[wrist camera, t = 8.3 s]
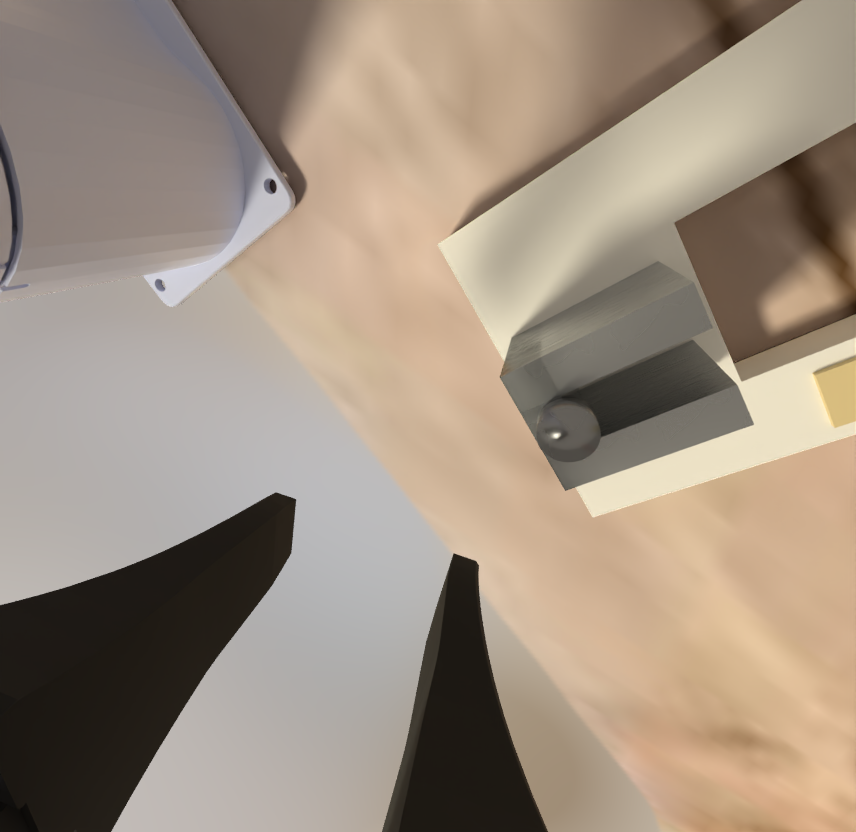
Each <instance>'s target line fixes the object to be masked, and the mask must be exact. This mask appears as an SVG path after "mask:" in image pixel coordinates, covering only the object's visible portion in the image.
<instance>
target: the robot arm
mask: <svg viewBox="0 0 856 832" xmlns="http://www.w3.org/2000/svg"><path fill="white" fill-rule="evenodd" d="M272 179H273V180H274V181H275V182H276V185H277V190H276V192H275V193H273V192H272V191H271V189H270V182H271V180H272ZM295 203H296V201H295V195H294V193H293V191H292V189H291V187H290V186H289V184H288V183H287V181H286V180H285V178H284V176H283V175H282V173H281V172H280V170H279V169H278V167H277V165H276V164H275V162H274V161H273V159H272V158H271V156H270V154H269V153H268V151H267V150H266V148H265V147H264V145H263V143H262V142H261V140H260V139H259V137H258V135H257V134H256V132H255V131H254V129H253V128H252V126H251V124H250V123H249V121H248V120H247V118H246V117H245V115H244V113H243V112H242V110H241V109H240V107H239V106H238V104H237V102H236V101H235V99H234V98H233V96H232V95H231V93H230V91H229V90H228V88H227V87H226V85H225V84H224V82H223V80H222V79H221V77H220V76H219V74H218V73H217V71H216V69H215V68H214V66H213V65H212V63H211V62H210V60H209V58H208V57H207V55H206V54H205V52H204V51H203V49H202V47H201V46H200V44H199V43H198V41H197V40H196V38H195V36H194V35H193V33H192V32H191V30H190V28H189V27H188V25H187V24H186V22H185V21H184V19H183V17H182V16H181V14H180V13H179V11H178V10H177V8H176V6H175V5H174V3H173V2H172V0H0V302H5V301H11V300H16V299H22V298H27V297H32V296H38V295H43V294H48V293H53V292H59V291H63V290H69V289H74V288H79V287H85V286H90V285H96V284H101V283H105V282H111V281H117V280H121V279H127V278H132V277H138V276H143V277H144V278H145V279H146V281H147V282H148V283H149V284H150V286H151V287H152V288H153V290H154V291H155V292H156V294H157V295H158V296H159V298H160V299H161V300H162V301H163V302H164V303H165V304H166V305H168V306H170V307H175V306H178V305H180V304H182V303H183V302H184V301H185V300H187V299H188V298H189V297H190V296H191V295H193V294H194V293H195V292H196V291H197V290H198V289H200V288H201V287H202V286H203V285H204V284H206V283H207V282H208V281H209V280H210V279H212V278H213V277H214V276H215V275H216V274H217V273H219V272H220V271H221V270H222V269H224V268H225V267H226V266H227V265H228V264H229V263H231V262H232V261H233V260H234V259H235V258H237V257H238V256H239V255H240V254H241V253H243V252H244V251H245V250H246V249H247V248H248V247H250V246H251V245H252V244H253V243H254V242H256V241H257V240H258V239H259V238H260V237H261V236H263V235H264V234H265V233H266V232H267V231H269V230H270V229H271V228H272V227H273V226H275V225H276V224H277V223H278V222H279V221H280V220H282V219H283V218H284V217H285V216H286V215H288V214H289V213H290V212H291V211H292V210H293V208H294V207H295ZM162 281H163V282H164V283H165V286H166V289H165V288H164V287H163V285H162ZM295 506H296V499H294V498H291V497H288V496H285V495H282V494H279V493H274V494H272V495H270V496H268V497H266V498H265V499H263V500H261V501H259V502H257V503H256V504H254V505H252V506H251V507H249V508H247V509H245V510H243V511H241V512H240V513H238V514H236V515H235V516H233V517H231V518H229V519H227V520H225V521H223V522H221V523H220V524H217V525H216V526H214V527H212V528H210V529H208V530H206V531H205V532H203V533H200V534H199V535H197V536H194V537H193V538H190V539H188V540H186V541H184V542H182V543H180V544H178V545H176V546H174V547H171V548H169V549H167V550H165V551H163V552H161V553H158V554H156V555H154V556H152V557H149V558H147V559H144V560H142V561H140V562H137V563H134V564H132V565H129V566H127V567H125V568H122V569H119V570H116V571H114V572H111V573H108V574H105V575H102V576H99V577H96V578H93V579H90V580H87V581H84V582H81V583H78V584H75V585H72V586H69V587H66V588H63V589H59V590H56V591H52V592H49V593H45V594H42V595H38V596H34V597H31V598H27V599H23V600H19V601H15V602H12V603H8V604H4V605H0V832H111V831H112V829H113V827H114V825H115V824H116V822H117V820H118V818H119V817H120V815H121V813H122V811H123V809H124V808H125V806H126V804H127V802H128V800H129V799H130V797H131V795H132V793H133V792H134V790H135V788H136V787H137V785H138V783H139V781H140V780H141V778H142V776H143V775H144V773H145V771H146V769H147V768H148V766H149V764H150V763H151V761H152V759H153V757H154V756H155V754H156V752H157V750H158V749H159V747H160V745H161V744H162V742H163V741H164V739H165V738H166V736H167V734H168V733H169V731H170V729H171V727H172V726H173V724H174V723H175V721H176V720H177V718H178V716H179V715H180V713H181V711H182V710H183V708H184V707H185V705H186V703H187V702H188V700H189V699H190V697H191V696H192V694H193V692H194V691H195V689H196V688H197V686H198V684H199V683H200V681H201V680H202V678H203V677H204V675H205V673H206V672H207V671H208V669H209V668H210V666H211V665H212V664H213V662H214V661H215V659H216V658H217V657H218V655H219V654H220V653H221V651H222V650H223V649H224V647H225V646H226V645H227V644H228V642H229V641H230V640H231V638H232V637H233V636H234V634H235V633H236V632H237V631H238V629H239V628H240V627H241V625H242V624H243V623H244V621H245V620H246V619H247V618H248V616H249V615H250V614H251V612H252V611H253V610H254V608H255V607H256V606H257V605H258V603H259V602H260V601H261V599H262V598H263V596H264V595H265V594H266V593H267V591H268V590H269V589H270V587H271V586H272V585H273V583H274V581H275V580H276V578H277V576H278V575H279V573H280V571H281V570H282V568H283V566H284V564H285V563H286V561H287V559H288V558H289V556H290V554H291V550H292V538H293V528H294V527H293V526H294V516H295ZM478 571H479V565H478V564H477V562H476V561H474V560H471V559H468V558H465V557H463V556H460V555H457V554H453V557H452V560H451V563H450V567H449V570H448V573H447V576H446V579H445V582H444V585H443V588H442V591H441V595H440V597H439V601H438V604H437V607H436V610H435V614H434V617H433V621H432V624H431V628H430V631H429V634H428V638H427V641H426V646H425V651H424V656H423V661H422V666H421V671H420V677H419V682H418V687H417V692H416V697H415V703H414V708H413V713H412V719H411V724H410V728H409V733H408V738H407V742H406V746H405V751H404V754H403V758H402V762H401V765H400V769H399V773H398V776H397V780H396V784H395V787H394V791H393V795H392V798H391V802H390V805H389V809H388V813H387V816H386V820H385V823H384V827H383V831H382V832H548V831H547V829H546V826H545V824H544V821H543V819H542V817H541V814H540V812H539V809H538V807H537V805H536V802H535V800H534V798H533V796H532V793H531V790H530V788H529V785H528V782H527V779H526V777H525V774H524V771H523V769H522V766H521V763H520V761H519V758H518V756H517V753H516V750H515V748H514V745H513V742H512V739H511V736H510V733H509V729H508V727H507V724H506V720H505V717H504V714H503V710H502V707H501V704H500V700H499V696H498V693H497V689H496V685H495V682H494V677H493V673H492V669H491V664H490V660H489V655H488V650H487V645H486V640H485V634H484V627H483V621H482V615H481V607H480V597H479V581H478Z"/></svg>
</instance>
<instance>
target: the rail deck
mask: <svg viewBox="0 0 856 832" xmlns="http://www.w3.org/2000/svg"><path fill="white" fill-rule="evenodd" d="M854 123H856V0H801V1H800V2H798V3H797V4H795V5H794V6H792V7H791V8H789V9H788V10H786V11H785V12H783V13H782V14H780V15H779V16H777V17H776V18H774V19H773V20H771V21H770V22H768V23H767V24H765V25H764V26H762V27H761V28H759V29H758V30H757V31H755V32H754V33H752V34H751V35H749V36H748V37H746V38H745V39H743V40H742V41H740V42H739V43H737V44H736V45H734V46H733V47H731V48H730V49H728V50H727V51H725V52H724V53H722V54H721V55H719V56H718V57H716V58H715V59H713V60H712V61H710V62H709V63H707V64H706V65H704V66H703V67H701V68H700V69H698V70H697V71H695V72H694V73H692V74H691V75H689V76H688V77H686V78H685V79H683V80H682V81H680V82H679V83H677V84H676V85H674V86H673V87H672V88H670V89H669V90H667V91H666V92H664V93H663V94H661V95H660V96H658V97H657V98H655V99H654V100H652V101H651V102H649V103H648V104H646V105H645V106H643V107H642V108H640V109H639V110H637V111H636V112H634V113H633V114H631V115H630V116H628V117H627V118H625V119H624V120H622V121H621V122H619V123H618V124H616V125H615V126H613V127H612V128H610V129H609V130H607V131H606V132H604V133H603V134H601V135H600V136H598V137H597V138H595V139H594V140H592V141H591V142H589V143H588V144H587V145H585V146H584V147H582V148H581V149H579V150H578V151H576V152H575V153H573V154H572V155H570V156H569V157H567V158H566V159H564V160H563V161H561V162H560V163H558V164H557V165H555V166H554V167H552V168H551V169H549V170H548V171H546V172H545V173H543V174H542V175H540V176H539V177H537V178H536V179H534V180H533V181H531V182H530V183H528V184H527V185H525V186H524V187H522V188H521V189H519V190H518V191H516V192H515V193H513V194H512V195H510V196H509V197H507V198H506V199H505V200H503V201H502V202H500V203H499V204H497V205H496V206H494V207H493V208H491V209H490V210H488V211H487V212H485V213H484V214H482V215H481V216H479V217H478V218H476V219H475V220H473V221H472V222H470V223H469V224H467V225H466V226H464V227H463V228H461V229H460V230H458V231H457V232H455V233H454V234H452V235H451V236H449V237H448V238H446V239H445V240H443V241H442V242H440V243H439V244H437V245H438V246H439V248H440V250H441V252H442V253H443V255H444V257H445V259H446V260H447V262H448V264H449V266H450V267H451V269H452V271H453V273H454V274H455V276H456V278H457V280H458V281H459V283H460V285H461V287H462V289H463V290H464V292H465V294H466V296H467V297H468V299H469V301H470V303H471V304H472V306H473V308H474V310H475V311H476V313H477V315H478V317H479V318H480V320H481V322H482V324H483V325H484V327H485V329H486V331H487V332H488V334H489V336H490V338H491V339H492V341H493V343H494V345H495V346H496V348H497V350H498V352H499V354H500V355H501V357H502V359H503V361H504V362H505V358H506V355H507V351H508V348H509V345H510V341H511V338H512V337H514V336H516V335H518V334H520V333H522V332H524V331H526V330H528V329H529V328H531V327H533V326H535V325H537V324H539V323H541V322H543V321H545V320H547V319H549V318H550V317H552V316H554V315H556V314H558V313H560V312H562V311H564V310H566V309H568V308H569V307H571V306H573V305H575V304H577V303H579V302H581V301H583V300H585V299H587V298H589V297H590V296H592V295H594V294H596V293H598V292H600V291H602V290H604V289H606V288H608V287H610V286H611V285H613V284H615V283H617V282H619V281H621V280H623V279H625V278H627V277H629V276H630V275H632V274H634V273H636V272H638V271H640V270H642V269H644V268H646V267H648V266H650V265H651V264H653V263H655V262H657V261H659V262H661V263H662V264H664V265H666V266H667V267H669V268H671V269H673V270H674V271H676V272H678V273H679V274H681V275H683V276H684V277H686V278H688V279H689V280H691V281H693V282H694V284H695V286H696V289H697V291H698V293H699V296H700V298H701V300H702V303H703V305H704V307H705V310H706V312H707V314H708V317H709V319H710V321H711V324H712V326H713V328H711V329H709V330H707V331H705V332H702V333H700V334H698V335H696V336H693V337H691V338H689V339H687V340H684V341H682V342H680V343H678V344H675V345H673V346H671V347H669V348H666V349H664V350H662V351H660V352H657V353H655V354H653V355H651V356H648V357H646V358H644V359H642V360H639V361H637V362H635V363H633V364H630V365H628V366H626V367H624V368H621V369H619V370H617V371H615V372H612V373H610V374H608V375H606V376H603V377H601V378H599V379H597V380H594V381H592V382H590V383H588V384H585V385H583V386H581V387H579V390H580V389H582V388H585V387H587V386H589V385H592V384H594V383H596V382H598V381H601V380H603V379H605V378H607V377H610V376H612V375H614V374H616V373H619V372H621V371H623V370H626V369H628V368H630V367H632V366H635V365H637V364H639V363H641V362H644V361H646V360H648V359H650V358H653V357H655V356H657V355H659V354H662V353H664V352H666V351H669V350H671V349H673V348H675V347H678V346H680V345H682V344H684V343H687V342H689V341H691V340H694V341H695V342H696V343H697V344H698V345H699V346H700V347H701V348H702V349H703V350H704V351H705V352H706V353H707V354H708V355H709V356H710V357H711V358H712V359H713V360H714V361H715V363H716V364H717V365H718V366H719V367H720V368H721V369H722V370H723V371H724V372H725V373H726V374H727V375H728V376H729V377H730V378H731V379H732V380H733V381H734V382H735V383H736V384H737V385H738V387H739V390H740V392H741V394H742V397H743V399H744V401H745V404H746V406H747V408H748V411H749V413H750V416H751V418H752V420H753V423H754V425H752V426H749V427H746V428H743V429H740V430H738V431H735V432H732V433H729V434H726V435H723V436H720V437H718V438H715V439H712V440H709V441H706V442H703V443H700V444H698V445H695V446H692V447H689V448H686V449H683V450H680V451H678V452H675V453H672V454H669V455H666V456H663V457H660V458H658V459H655V460H652V461H649V462H646V463H643V464H640V465H638V466H635V467H632V468H629V469H626V470H623V471H620V472H618V473H615V474H612V475H609V476H606V477H603V478H600V479H598V480H595V481H592V482H589V483H586V484H583V485H580V486H578V487H576V489H577V490H578V492H579V494H580V496H581V498H582V499H583V501H584V503H585V505H586V506H587V508H588V510H589V512H590V513H591V515H592V517H596V516H599V515H602V514H605V513H609V512H612V511H615V510H618V509H621V508H624V507H628V506H631V505H634V504H637V503H640V502H643V501H647V500H650V499H653V498H656V497H659V496H662V495H666V494H669V493H672V492H675V491H678V490H681V489H685V488H688V487H691V486H694V485H697V484H700V483H703V482H707V481H710V480H713V479H716V478H719V477H722V476H726V475H729V474H732V473H735V472H738V471H741V470H745V469H748V468H751V467H754V466H757V465H760V464H764V463H767V462H770V461H773V460H776V459H779V458H783V457H786V456H789V455H792V454H795V453H798V452H802V451H805V450H808V449H811V448H814V447H817V446H821V445H824V444H827V443H830V442H833V441H836V440H840V439H843V438H846V437H849V436H852V435H855V434H856V314H855V315H852V316H850V317H847V318H845V319H842V320H840V321H837V322H835V323H832V324H830V325H828V326H825V327H823V328H820V329H818V330H815V331H813V332H810V333H808V334H805V335H803V336H800V337H798V338H796V339H793V340H791V341H788V342H786V343H783V344H781V345H778V346H776V347H773V348H771V349H769V350H766V351H764V352H761V353H759V354H756V355H754V356H751V357H749V358H746V359H744V360H742V361H739V362H737V363H733V361H732V359H731V356H730V354H729V351H728V349H727V347H726V344H725V342H724V340H723V337H722V335H721V332H720V330H719V328H718V325H717V323H716V321H715V318H714V316H713V314H712V311H711V309H710V306H709V304H708V302H707V299H706V297H705V295H704V292H703V290H702V288H701V285H700V283H699V280H698V278H697V276H696V273H695V271H694V269H693V266H692V264H691V261H690V259H689V257H688V254H687V252H686V250H685V247H684V245H683V243H682V240H681V238H680V235H679V233H678V231H677V228H676V226H675V224H674V222H676V221H678V220H680V219H682V218H684V217H685V216H687V215H689V214H691V213H693V212H694V211H696V210H698V209H700V208H702V207H704V206H705V205H707V204H709V203H711V202H713V201H714V200H716V199H718V198H720V197H722V196H723V195H725V194H727V193H729V192H731V191H733V190H734V189H736V188H738V187H740V186H742V185H743V184H745V183H747V182H749V181H751V180H752V179H754V178H756V177H758V176H760V175H762V174H763V173H765V172H767V171H769V170H771V169H772V168H774V167H776V166H778V165H780V164H782V163H783V162H785V161H787V160H789V159H791V158H792V157H794V156H796V155H798V154H800V153H801V152H803V151H805V150H807V149H809V148H811V147H812V146H814V145H816V144H818V143H820V142H821V141H823V140H825V139H827V138H829V137H831V136H832V135H834V134H836V133H838V132H840V131H841V130H843V129H845V128H847V127H849V126H850V125H852V124H854Z"/></svg>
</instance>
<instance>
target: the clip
mask: <svg viewBox="0 0 856 832" xmlns="http://www.w3.org/2000/svg"><path fill="white" fill-rule="evenodd" d="M711 328H713V326H712V324H711V321H710V319H709V317H708V314H707V312H706V310H705V307H704V305H703V303H702V300H701V298H700V296H699V293H698V291H697V289H696V286H695V284H694V282H693V281H691V280H689V279H688V278H686V277H684V276H683V275H681V274H679V273H678V272H676V271H674V270H673V269H671V268H669V267H667V266H666V265H664V264H662V263H661V262H659V261H657V262H655V263H653V264H651V265H650V266H648V267H646V268H644V269H642V270H640V271H638V272H636V273H634V274H632V275H630V276H629V277H627V278H625V279H623V280H621V281H619V282H617V283H615V284H613V285H611V286H610V287H608V288H606V289H604V290H602V291H600V292H598V293H596V294H594V295H592V296H590V297H589V298H587V299H585V300H583V301H581V302H579V303H577V304H575V305H573V306H571V307H569V308H568V309H566V310H564V311H562V312H560V313H558V314H556V315H554V316H552V317H550V318H549V319H547V320H545V321H543V322H541V323H539V324H537V325H535V326H533V327H531V328H529V329H528V330H526V331H524V332H522V333H520V334H518V335H516V336H514V337H512V338H511V341H510V345H509V348H508V351H507V355H506V358H505V362H504V365H503V368H502V372H501V375H500V378H501V380H502V382H503V384H504V385H505V387H506V389H507V390H508V392H509V394H510V396H511V397H512V399H513V401H514V403H515V404H516V406H517V408H518V410H519V411H520V413H521V415H522V416H523V418H524V420H525V422H526V423H527V425H528V427H529V429H530V430H531V432H532V434H533V436H534V437H535V439H536V441H537V442H538V445H539V447H540V448H541V450H542V451H543V453H544V455H545V456H546V458H547V460H548V461H549V463H550V465H551V467H552V468H553V470H554V472H555V474H556V475H557V477H558V479H559V481H560V482H561V484H562V486H563V487H564V489H565V491H566V490H569V489H572V488H575V487H578V486H580V485H583V484H586V483H589V482H592V481H595V480H598V479H600V478H603V477H606V476H609V475H612V474H615V473H618V472H620V471H623V470H626V469H629V468H632V467H635V466H638V465H640V464H643V463H646V462H649V461H652V460H655V459H658V458H660V457H663V456H666V455H669V454H672V453H675V452H678V451H680V450H683V449H686V448H689V447H692V446H695V445H698V444H700V443H703V442H706V441H709V440H712V439H715V438H718V437H720V436H723V435H726V434H729V433H732V432H735V431H738V430H740V429H743V428H746V427H749V426H752V425H754V423H753V420H752V418H751V416H750V413H749V411H748V408H747V406H746V404H745V401H744V399H743V397H742V394H741V392H740V390H739V387H738V385H737V384H736V383H735V382H734V381H733V380H732V379H731V378H730V377H729V376H728V375H727V374H726V373H725V372H724V371H723V370H722V369H721V368H720V367H719V366H718V365H717V364H716V363H715V361H714V360H713V359H712V358H711V357H710V356H709V355H708V354H707V353H706V352H705V351H704V350H703V349H702V348H701V347H700V346H699V345H698V344H697V343H696V342H695V341H694V340H691V341H689V342H687V343H684V344H682V345H680V346H678V347H675V348H673V349H671V350H669V351H666V352H664V353H662V354H659V355H657V356H655V357H653V358H650V359H648V360H646V361H644V362H641V363H639V364H637V365H635V366H632V367H630V368H628V369H626V370H623V371H621V372H619V373H616V374H614V375H612V376H610V377H607V378H605V379H603V380H601V381H598V382H596V383H594V384H592V385H589V386H587V387H585V388H582V389H580V390H579V387H581V386H583V385H585V384H588V383H590V382H592V381H594V380H597V379H599V378H601V377H603V376H606V375H608V374H610V373H612V372H615V371H617V370H619V369H621V368H624V367H626V366H628V365H630V364H633V363H635V362H637V361H639V360H642V359H644V358H646V357H648V356H651V355H653V354H655V353H657V352H660V351H662V350H664V349H666V348H669V347H671V346H673V345H675V344H678V343H680V342H682V341H684V340H687V339H689V338H691V337H693V336H696V335H698V334H700V333H702V332H705V331H707V330H709V329H711Z"/></svg>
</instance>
